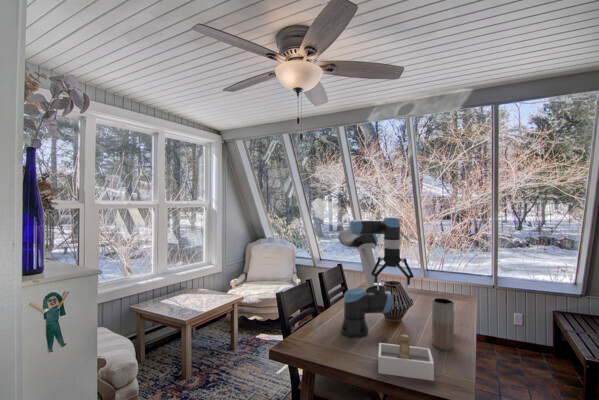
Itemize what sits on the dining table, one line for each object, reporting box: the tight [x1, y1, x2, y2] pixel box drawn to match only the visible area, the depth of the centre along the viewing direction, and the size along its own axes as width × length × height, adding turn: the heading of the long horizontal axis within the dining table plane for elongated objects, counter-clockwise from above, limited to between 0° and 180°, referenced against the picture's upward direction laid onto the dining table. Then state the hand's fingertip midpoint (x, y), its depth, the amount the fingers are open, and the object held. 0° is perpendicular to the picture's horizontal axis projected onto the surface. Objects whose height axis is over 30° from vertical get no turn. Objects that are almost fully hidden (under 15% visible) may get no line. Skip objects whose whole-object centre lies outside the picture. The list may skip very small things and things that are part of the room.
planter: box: [431, 297, 455, 351], centre depth 163 cm, size 10×10×23 cm
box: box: [377, 342, 435, 382], centre depth 140 cm, size 22×14×7 cm, turn 75°
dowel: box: [399, 334, 410, 359], centre depth 140 cm, size 4×4×14 cm
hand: (392, 290), depth 160 cm, fingers open, 13 cm apart
